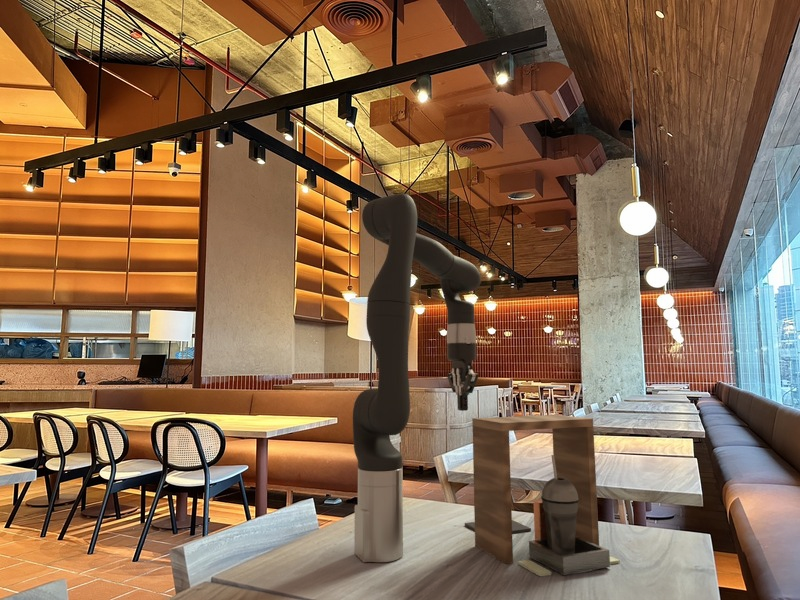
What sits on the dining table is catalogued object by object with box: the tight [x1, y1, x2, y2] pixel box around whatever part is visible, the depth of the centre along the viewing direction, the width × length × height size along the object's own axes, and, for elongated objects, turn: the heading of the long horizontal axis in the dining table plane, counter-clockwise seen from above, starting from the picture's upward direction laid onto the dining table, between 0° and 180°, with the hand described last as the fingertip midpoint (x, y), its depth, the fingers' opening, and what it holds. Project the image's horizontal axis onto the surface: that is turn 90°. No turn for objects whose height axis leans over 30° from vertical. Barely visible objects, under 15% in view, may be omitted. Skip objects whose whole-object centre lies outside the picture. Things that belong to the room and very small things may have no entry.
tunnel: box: [472, 414, 600, 565], centre depth 118 cm, size 23×12×27 cm, turn 112°
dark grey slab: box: [464, 519, 532, 535], centre depth 130 cm, size 12×10×1 cm
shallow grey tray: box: [528, 499, 611, 576], centre depth 108 cm, size 11×13×10 cm
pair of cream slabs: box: [517, 555, 621, 577], centre depth 106 cm, size 18×7×1 cm, turn 112°
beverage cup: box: [540, 455, 579, 555], centre depth 109 cm, size 7×7×20 cm
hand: (462, 410), depth 140 cm, fingers closed
